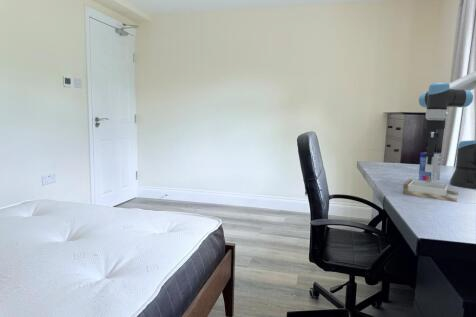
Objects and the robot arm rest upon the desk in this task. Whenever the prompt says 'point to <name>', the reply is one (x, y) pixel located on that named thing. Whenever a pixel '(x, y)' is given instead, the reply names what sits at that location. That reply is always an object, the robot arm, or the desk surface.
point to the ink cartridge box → (435, 172)
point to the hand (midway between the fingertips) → (429, 170)
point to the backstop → (429, 194)
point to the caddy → (428, 188)
